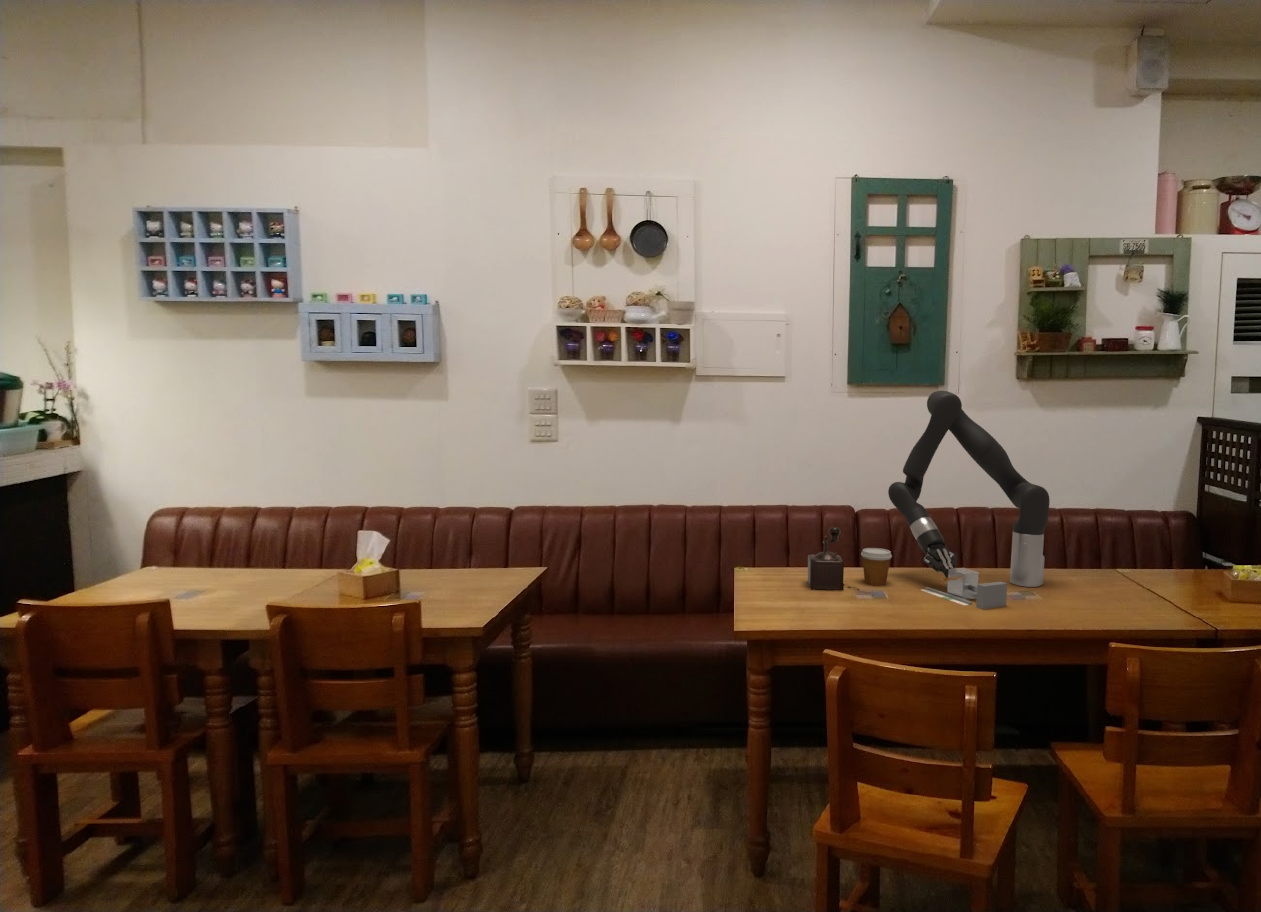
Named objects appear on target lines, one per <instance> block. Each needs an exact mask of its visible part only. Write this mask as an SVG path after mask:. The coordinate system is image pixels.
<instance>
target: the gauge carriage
mask: <svg viewBox="0 0 1261 912" xmlns="http://www.w3.org/2000/svg"><path fill="white" fill-rule="evenodd" d="M979 575H980V572H979V571H975V570H973V569H968V568H967V567H959V568H954V569H948V578H946V577H942V578H941V581H943V582H946V581H947V585H948V588H947V587H946V589H947V590H946V591H947V592H946V593H947V594H950V595H953V596H956V597H959V598H962V599H965V600H968V601H969V600H974V599H976V600H977V584H979Z"/></svg>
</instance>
